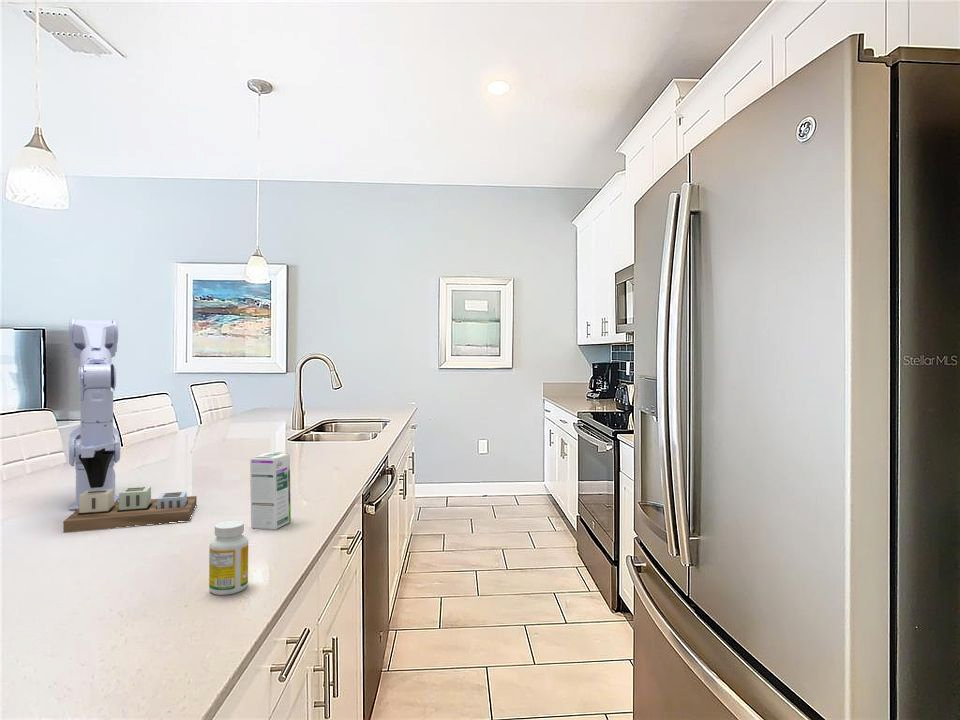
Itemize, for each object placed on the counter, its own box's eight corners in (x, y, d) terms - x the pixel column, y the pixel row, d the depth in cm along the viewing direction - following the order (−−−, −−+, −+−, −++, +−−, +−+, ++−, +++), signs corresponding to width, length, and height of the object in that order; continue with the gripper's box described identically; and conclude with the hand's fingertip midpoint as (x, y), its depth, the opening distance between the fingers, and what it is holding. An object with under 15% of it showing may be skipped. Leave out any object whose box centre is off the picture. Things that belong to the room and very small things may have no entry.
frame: (84, 513, 127) (84, 503, 127) (196, 505, 134) (196, 495, 134) (63, 532, 114) (63, 521, 114) (188, 521, 121) (188, 511, 121)
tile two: (124, 504, 126) (124, 487, 126) (151, 502, 127) (151, 485, 127) (118, 510, 121) (118, 492, 121) (146, 508, 122) (146, 490, 122)
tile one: (86, 506, 123) (86, 489, 123) (113, 505, 125) (113, 487, 125) (79, 513, 118) (79, 495, 118) (107, 511, 120) (107, 493, 120)
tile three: (161, 509, 128) (161, 492, 128) (186, 507, 130) (186, 491, 130) (157, 515, 123) (157, 498, 123) (183, 513, 125) (183, 496, 125)
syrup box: (276, 530, 116) (276, 457, 116) (249, 528, 117) (249, 456, 117) (291, 522, 121) (291, 452, 121) (265, 520, 123) (265, 451, 123)
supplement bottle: (219, 599, 83) (219, 532, 83) (202, 589, 87) (202, 524, 87) (255, 587, 87) (255, 523, 87) (237, 578, 91) (237, 517, 91)
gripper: (110, 424, 116) (110, 493, 116) (127, 417, 130) (127, 478, 130) (68, 426, 114) (68, 495, 114) (89, 418, 127) (89, 481, 127)
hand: (97, 487), depth 122 cm, fingers closed
